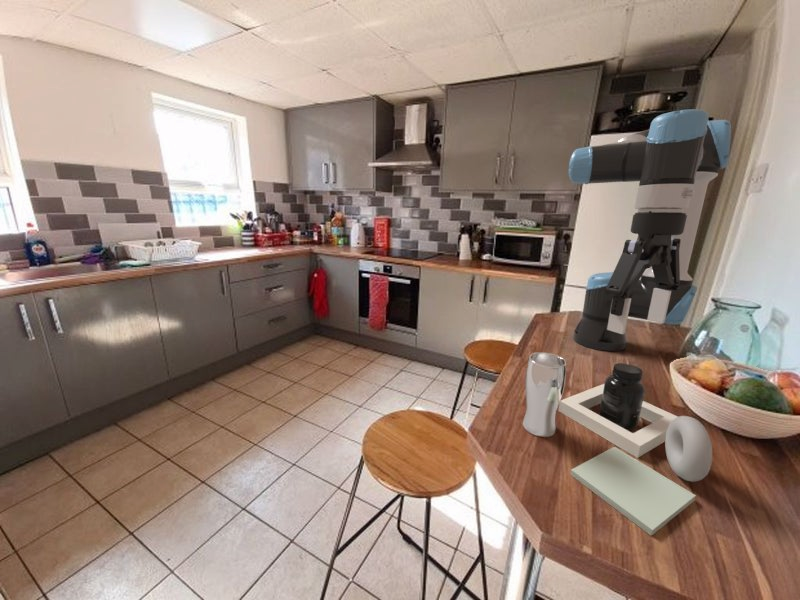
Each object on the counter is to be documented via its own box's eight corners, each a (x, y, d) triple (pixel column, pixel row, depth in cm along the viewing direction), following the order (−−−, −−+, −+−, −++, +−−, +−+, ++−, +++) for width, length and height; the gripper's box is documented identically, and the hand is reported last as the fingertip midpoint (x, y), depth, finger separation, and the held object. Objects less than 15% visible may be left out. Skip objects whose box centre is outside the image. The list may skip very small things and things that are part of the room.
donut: (707, 499, 50) (724, 443, 47) (679, 492, 51) (694, 437, 49) (680, 455, 59) (693, 406, 56) (657, 450, 60) (669, 402, 58)
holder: (602, 392, 79) (604, 383, 79) (682, 430, 66) (685, 420, 65) (558, 410, 72) (559, 400, 71) (637, 458, 58) (640, 446, 58)
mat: (613, 451, 60) (614, 446, 60) (694, 500, 50) (695, 495, 50) (570, 474, 55) (571, 469, 54) (651, 535, 44) (652, 530, 44)
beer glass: (512, 421, 68) (520, 355, 64) (538, 413, 71) (546, 349, 67) (538, 442, 62) (548, 370, 58) (565, 433, 65) (576, 363, 61)
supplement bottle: (644, 433, 65) (656, 378, 62) (605, 428, 66) (616, 374, 63) (628, 413, 71) (638, 362, 68) (593, 409, 73) (602, 359, 70)
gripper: (644, 210, 49) (618, 344, 54) (719, 212, 60) (692, 322, 66) (595, 210, 55) (576, 330, 61) (671, 211, 67) (650, 312, 72)
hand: (636, 326), depth 63 cm, fingers open, 13 cm apart
